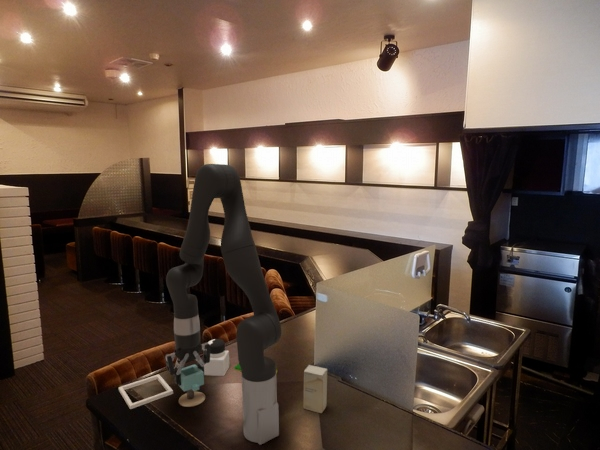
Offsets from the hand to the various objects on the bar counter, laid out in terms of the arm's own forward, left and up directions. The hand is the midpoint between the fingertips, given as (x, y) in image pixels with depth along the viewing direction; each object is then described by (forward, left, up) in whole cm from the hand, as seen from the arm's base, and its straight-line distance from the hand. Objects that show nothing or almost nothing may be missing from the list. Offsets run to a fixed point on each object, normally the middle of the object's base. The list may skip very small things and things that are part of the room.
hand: (189, 380), depth 122 cm
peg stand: (-1, 0, -7) cm, 7 cm away
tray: (+12, +10, -7) cm, 17 cm away
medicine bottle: (+10, -14, -7) cm, 19 cm away
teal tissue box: (0, 0, -1) cm, 1 cm away
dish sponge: (+2, -25, -8) cm, 26 cm away
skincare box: (-27, -28, -7) cm, 39 cm away
